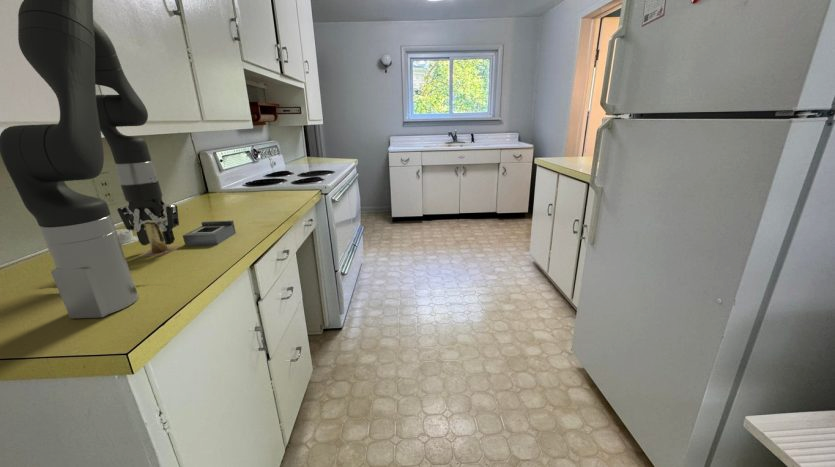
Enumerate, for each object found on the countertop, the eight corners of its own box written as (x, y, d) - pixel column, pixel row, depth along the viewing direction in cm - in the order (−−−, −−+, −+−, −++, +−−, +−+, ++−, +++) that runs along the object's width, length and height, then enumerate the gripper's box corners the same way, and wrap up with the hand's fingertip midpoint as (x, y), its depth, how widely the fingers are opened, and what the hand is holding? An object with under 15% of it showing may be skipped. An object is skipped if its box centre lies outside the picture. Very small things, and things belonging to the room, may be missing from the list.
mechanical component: (93, 248, 99) (101, 255, 93) (87, 234, 97) (96, 240, 92) (135, 238, 106) (145, 244, 100) (130, 225, 105) (141, 230, 99)
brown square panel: (165, 259, 88) (164, 255, 87) (138, 260, 88) (137, 256, 88) (182, 249, 94) (181, 245, 94) (157, 250, 94) (156, 246, 94)
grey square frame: (218, 247, 94) (214, 230, 93) (186, 249, 94) (181, 232, 93) (236, 236, 104) (233, 220, 102) (207, 237, 104) (203, 221, 102)
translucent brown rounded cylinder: (162, 253, 89) (153, 224, 87) (149, 253, 89) (140, 224, 87) (170, 248, 92) (162, 220, 90) (158, 248, 92) (150, 220, 90)
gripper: (97, 184, 81) (119, 250, 87) (157, 182, 81) (175, 248, 87) (123, 179, 88) (142, 240, 94) (178, 177, 88) (194, 238, 94)
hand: (158, 243), depth 90 cm, fingers open, 5 cm apart
